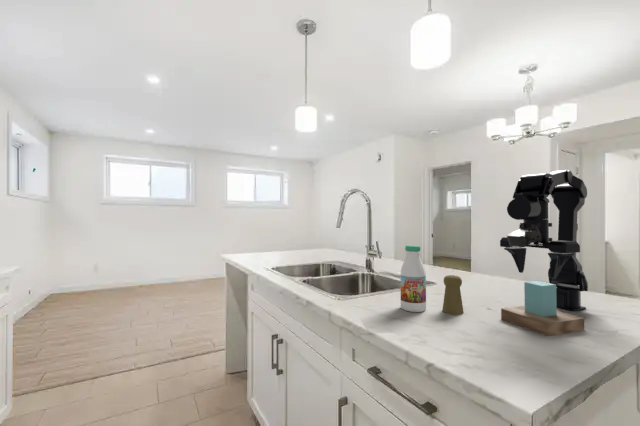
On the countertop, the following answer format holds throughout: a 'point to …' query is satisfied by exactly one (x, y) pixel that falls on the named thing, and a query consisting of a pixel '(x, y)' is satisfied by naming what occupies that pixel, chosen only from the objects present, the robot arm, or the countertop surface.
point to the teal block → (540, 298)
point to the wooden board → (543, 321)
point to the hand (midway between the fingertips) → (536, 275)
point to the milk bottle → (413, 281)
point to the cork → (452, 295)
